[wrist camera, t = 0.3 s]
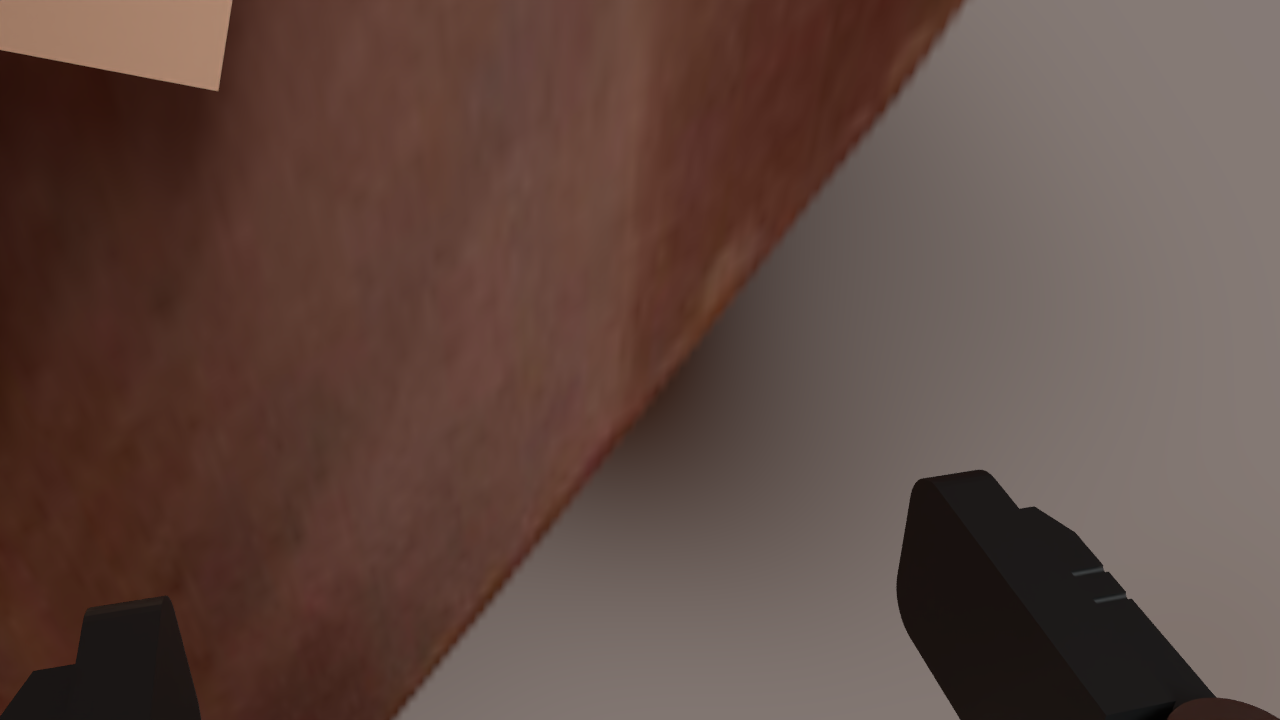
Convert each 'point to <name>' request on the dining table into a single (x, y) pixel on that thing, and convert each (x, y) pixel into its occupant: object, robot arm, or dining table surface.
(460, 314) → the dining table surface
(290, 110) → the dining table surface
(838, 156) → the dining table surface
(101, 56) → the top block
